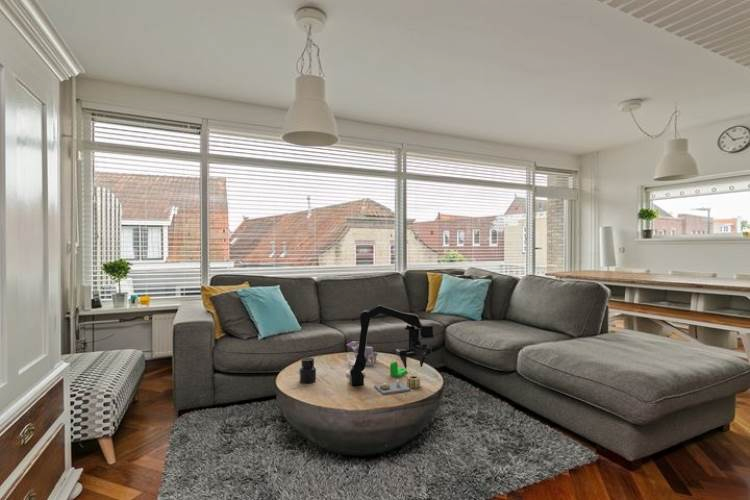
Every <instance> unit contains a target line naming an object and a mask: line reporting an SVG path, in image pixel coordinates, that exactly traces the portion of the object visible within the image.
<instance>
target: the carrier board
mask: <svg viewBox="0 0 750 500" xmlns="http://www.w3.org/2000/svg"><path fill="white" fill-rule="evenodd" d="M373 388H375V389H376V390H377V391H378V392H379V393H380V394H381V395H383V396H384V395H389V394H390V395H391V394H399V393H404V392H410V391H411V388H410V387H408V386H407V385H406V384H404V383H402V381H401V379H397V380H396V382H388V383H379V384H374V387H373Z"/></svg>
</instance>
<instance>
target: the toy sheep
mask: <svg viewBox="0 0 750 500" xmlns="http://www.w3.org/2000/svg"><path fill="white" fill-rule="evenodd" d="M359 341H360V340H359ZM359 341H358V340H357V341H355V340H353V341H351V342H349V343H347V344H346V346H347V347H349V348H351V350H352V351H353V353H354V354H355V356H354V357H355V359H356V358H357V355H358V349H359ZM365 355H366V357H368V359H367V362H369V360H370V363H371V365H370V366H371V367H372V366H374V363H377V357H378V352H377V351H374V347H373V346H367V345H366V351H365Z"/></svg>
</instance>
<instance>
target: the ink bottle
mask: <svg viewBox="0 0 750 500" xmlns="http://www.w3.org/2000/svg"><path fill="white" fill-rule="evenodd" d="M300 365H301V367H300V368H299V376H298V377H299V382H300V383H302V384H303V383H304V384H310V383H311V384H312V383H314V382H316V380H317V368H316V367H315V358H314V357H309V356H308V357H302V358H301V364H300Z"/></svg>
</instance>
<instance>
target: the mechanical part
mask: <svg viewBox="0 0 750 500" xmlns="http://www.w3.org/2000/svg"><path fill="white" fill-rule="evenodd" d="M398 365H399V364H398V362H397V361H394V360H392V361H391V363H390V368H389V369H390V372H389V374H390V377H395V378H402V377H404V375H406V374H407V372H408V370H407V368H406V369H405V367H403V368H402V367H398Z"/></svg>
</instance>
